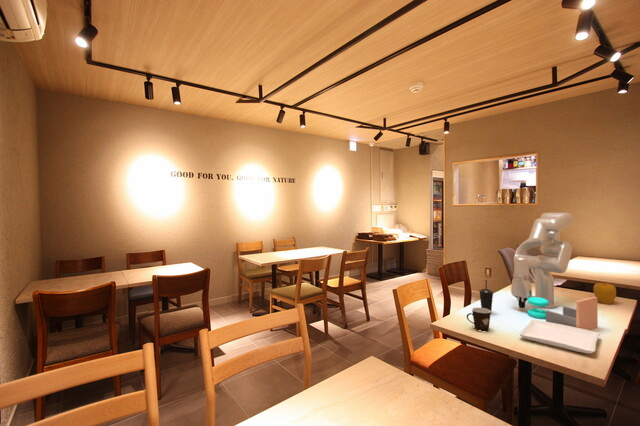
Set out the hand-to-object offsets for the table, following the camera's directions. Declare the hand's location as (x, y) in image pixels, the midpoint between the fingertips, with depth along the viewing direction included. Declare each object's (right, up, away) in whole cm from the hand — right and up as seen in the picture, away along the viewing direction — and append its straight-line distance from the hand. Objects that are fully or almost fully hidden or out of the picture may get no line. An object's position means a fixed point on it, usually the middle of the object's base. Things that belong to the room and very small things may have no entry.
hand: (521, 307), depth 186 cm
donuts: (+4, -2, -8) cm, 10 cm away
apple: (+61, -1, +12) cm, 62 cm away
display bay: (+10, -2, -23) cm, 25 cm away
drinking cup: (-23, -3, -3) cm, 23 cm away
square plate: (-8, -4, -39) cm, 40 cm away
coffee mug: (-39, -4, -25) cm, 47 cm away
